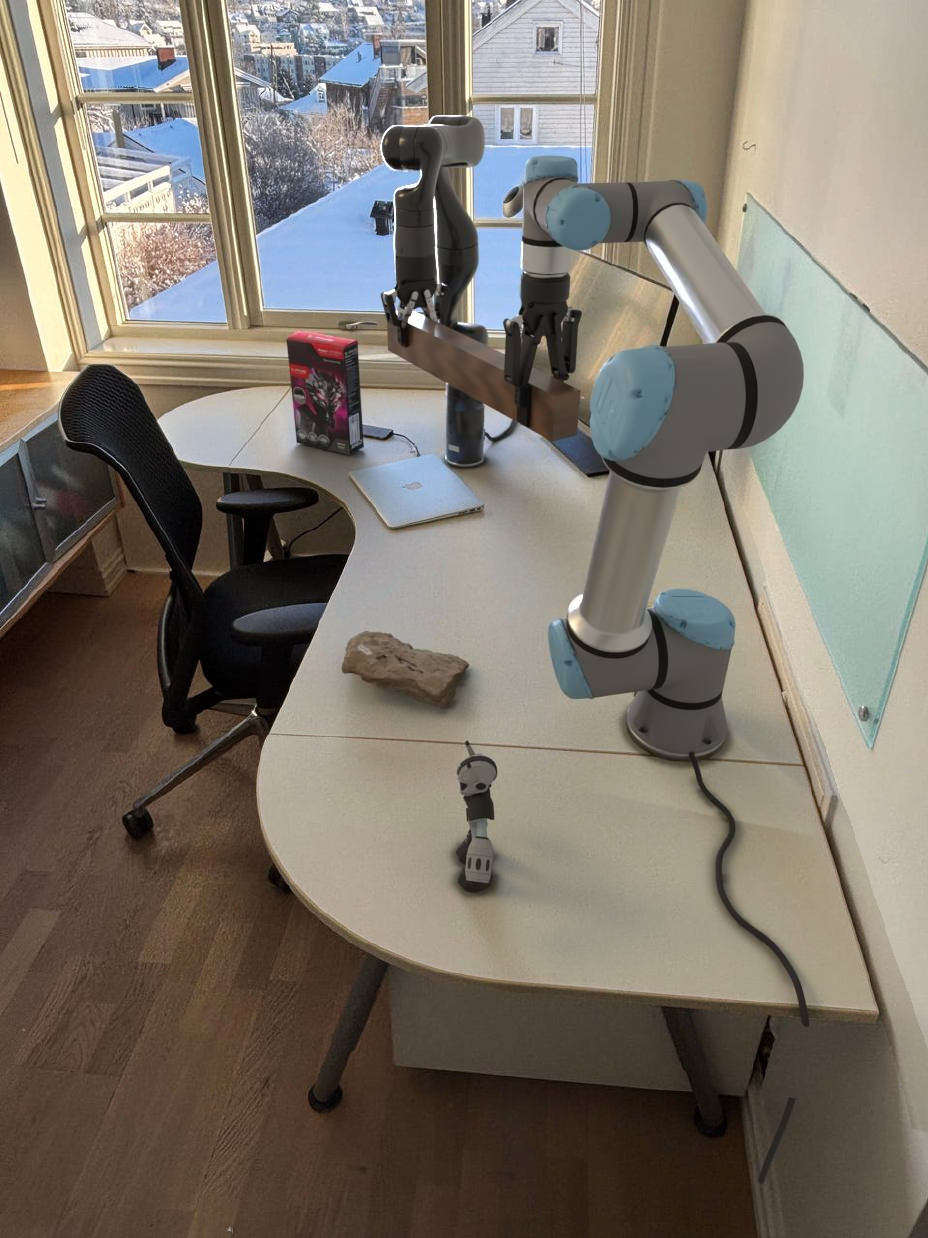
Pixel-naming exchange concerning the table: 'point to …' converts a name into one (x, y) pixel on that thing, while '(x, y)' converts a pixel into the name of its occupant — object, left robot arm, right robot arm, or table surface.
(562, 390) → the beam
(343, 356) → the graphics card box
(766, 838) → the table surface
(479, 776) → the robot
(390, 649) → the stone
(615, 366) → the right robot arm
